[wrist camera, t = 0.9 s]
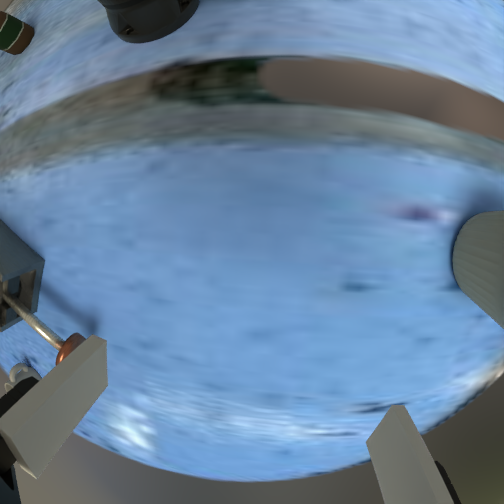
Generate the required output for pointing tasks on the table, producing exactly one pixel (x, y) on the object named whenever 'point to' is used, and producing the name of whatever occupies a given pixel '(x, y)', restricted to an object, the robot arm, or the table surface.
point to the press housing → (18, 274)
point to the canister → (482, 262)
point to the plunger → (41, 325)
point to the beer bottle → (14, 34)
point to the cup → (20, 375)
